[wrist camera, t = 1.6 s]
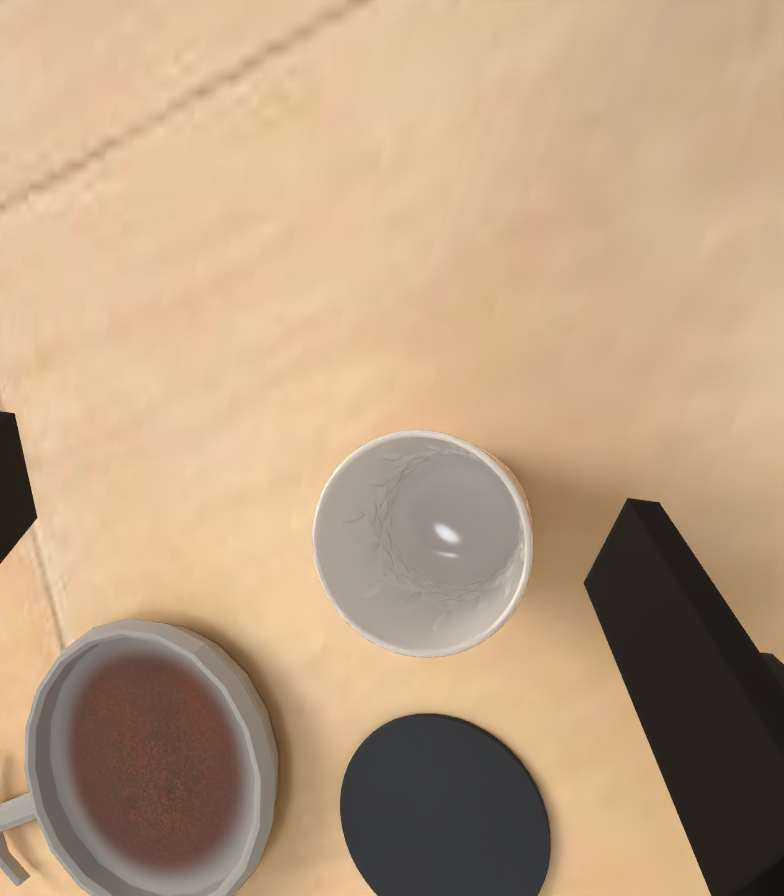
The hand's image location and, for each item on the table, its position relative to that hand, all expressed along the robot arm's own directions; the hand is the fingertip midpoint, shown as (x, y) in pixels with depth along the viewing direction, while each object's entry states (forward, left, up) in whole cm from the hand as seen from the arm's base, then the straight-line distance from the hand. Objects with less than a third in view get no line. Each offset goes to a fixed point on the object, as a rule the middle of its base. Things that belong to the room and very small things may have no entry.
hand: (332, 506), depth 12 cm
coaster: (0, +18, -17) cm, 25 cm away
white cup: (0, +2, -17) cm, 18 cm away
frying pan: (+22, +20, -17) cm, 35 cm away
